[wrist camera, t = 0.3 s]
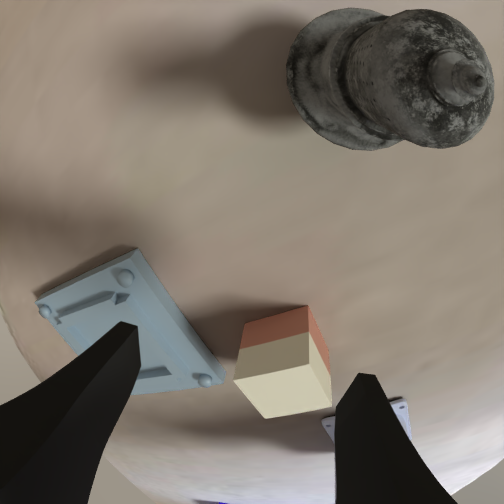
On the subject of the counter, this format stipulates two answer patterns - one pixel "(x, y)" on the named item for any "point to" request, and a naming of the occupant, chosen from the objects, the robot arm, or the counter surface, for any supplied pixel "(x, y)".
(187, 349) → the base plate
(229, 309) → the counter surface
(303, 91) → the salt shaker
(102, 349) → the robot arm
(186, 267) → the counter surface
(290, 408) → the cream and red block
